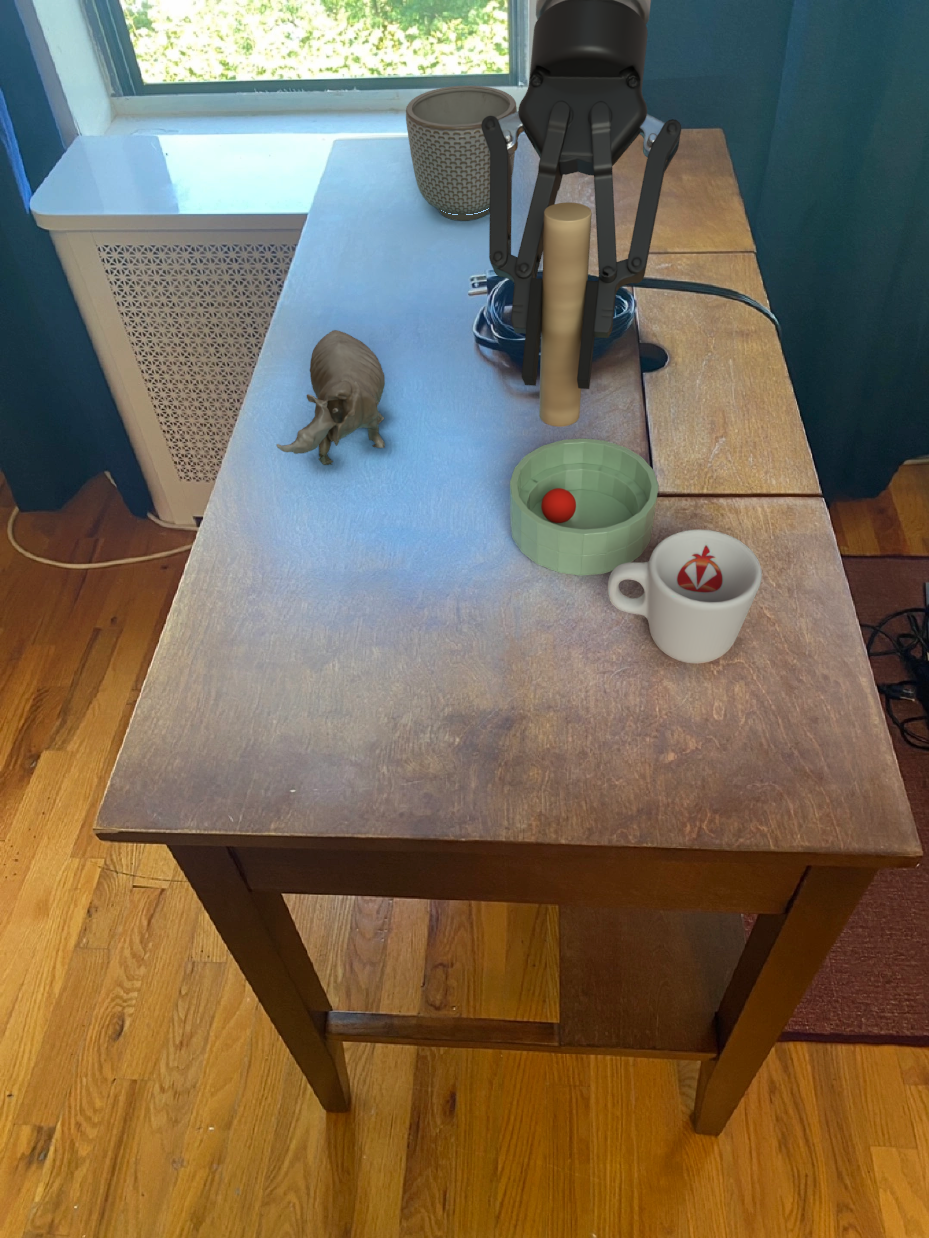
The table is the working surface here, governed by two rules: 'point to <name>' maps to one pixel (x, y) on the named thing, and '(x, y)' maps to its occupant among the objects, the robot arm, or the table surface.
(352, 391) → the grey animal figure
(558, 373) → the tan wooden cylinder
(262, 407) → the table surface
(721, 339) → the table surface
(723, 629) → the cup
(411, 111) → the planter
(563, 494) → the cherry tomato
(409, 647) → the table surface
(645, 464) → the bowl
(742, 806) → the table surface
